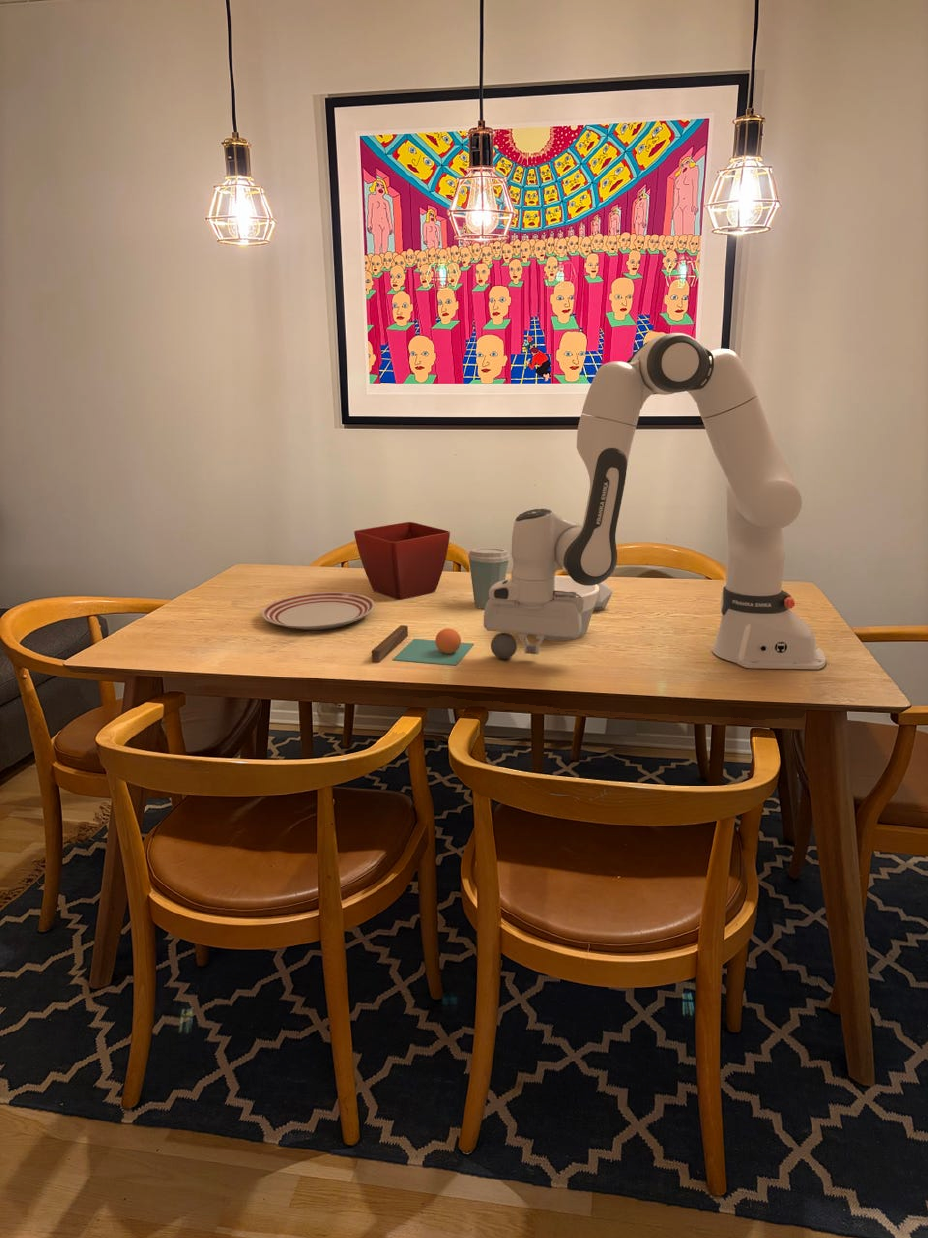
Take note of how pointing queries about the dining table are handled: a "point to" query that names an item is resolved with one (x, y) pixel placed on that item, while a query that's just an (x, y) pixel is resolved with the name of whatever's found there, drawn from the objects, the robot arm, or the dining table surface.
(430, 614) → the dining table surface
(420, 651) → the mark
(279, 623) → the dinner plate
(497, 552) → the disposable coffee cup
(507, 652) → the ball
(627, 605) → the dining table surface
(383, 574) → the plant pot
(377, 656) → the rail
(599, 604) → the die
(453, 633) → the ball
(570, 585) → the bowl
